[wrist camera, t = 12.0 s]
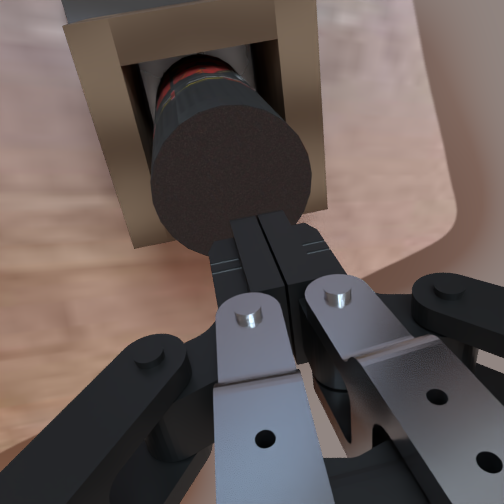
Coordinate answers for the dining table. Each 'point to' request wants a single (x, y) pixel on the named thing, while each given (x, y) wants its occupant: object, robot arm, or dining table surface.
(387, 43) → the dining table surface
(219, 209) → the deodorant
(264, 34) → the sleeve holder
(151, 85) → the press platform
